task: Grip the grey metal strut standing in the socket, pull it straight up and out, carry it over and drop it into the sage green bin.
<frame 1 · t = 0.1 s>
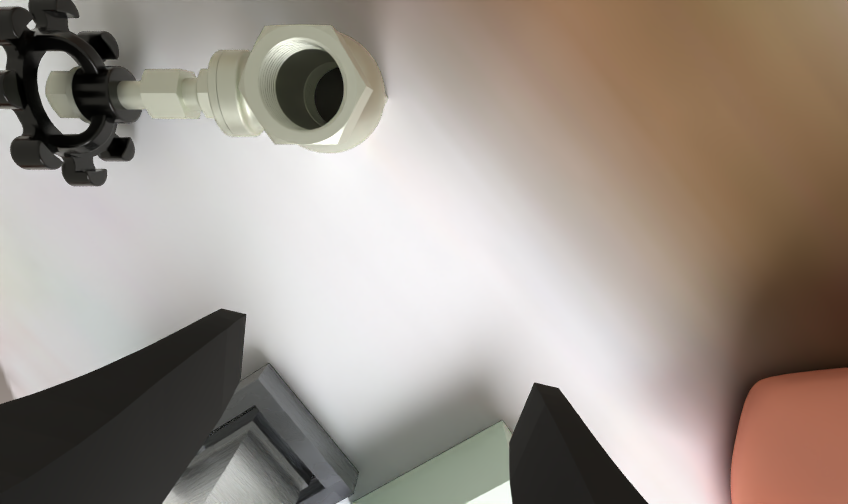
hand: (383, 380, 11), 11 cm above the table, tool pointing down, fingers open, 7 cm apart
socket: (258, 453, 25), on the table
valve: (255, 99, 20), on the table
teapot: (833, 449, 24), on the table
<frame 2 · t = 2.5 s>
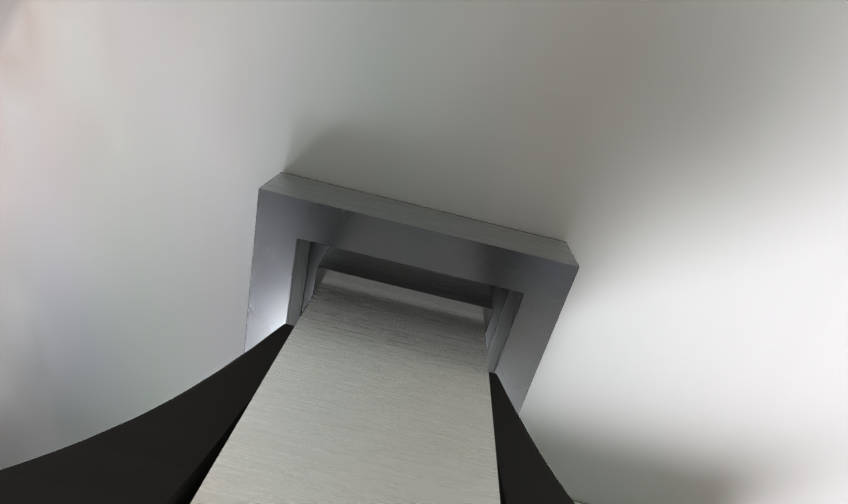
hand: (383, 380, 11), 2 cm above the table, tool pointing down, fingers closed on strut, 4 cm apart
socket: (395, 327, 14), on the table
strut: (372, 428, 10), in the socket, touching gripper
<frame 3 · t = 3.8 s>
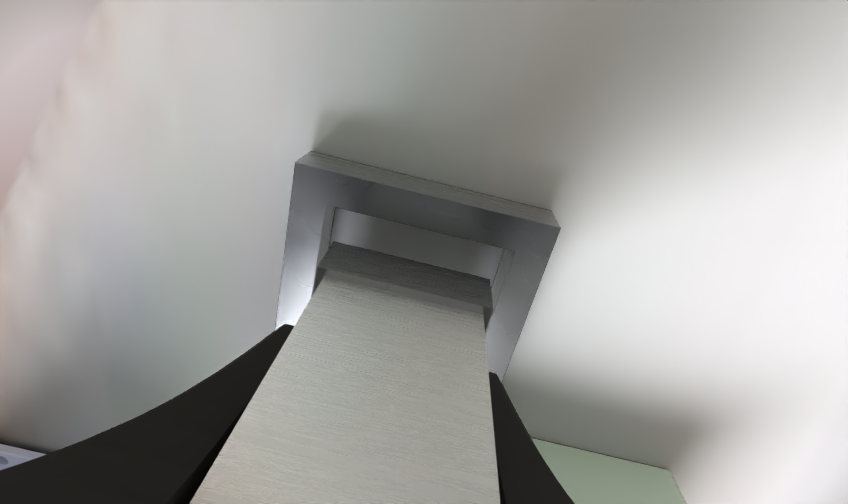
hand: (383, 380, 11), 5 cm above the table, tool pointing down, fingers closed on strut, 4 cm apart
socket: (405, 286, 16), on the table
strut: (372, 427, 10), point 6 cm above the table, touching gripper
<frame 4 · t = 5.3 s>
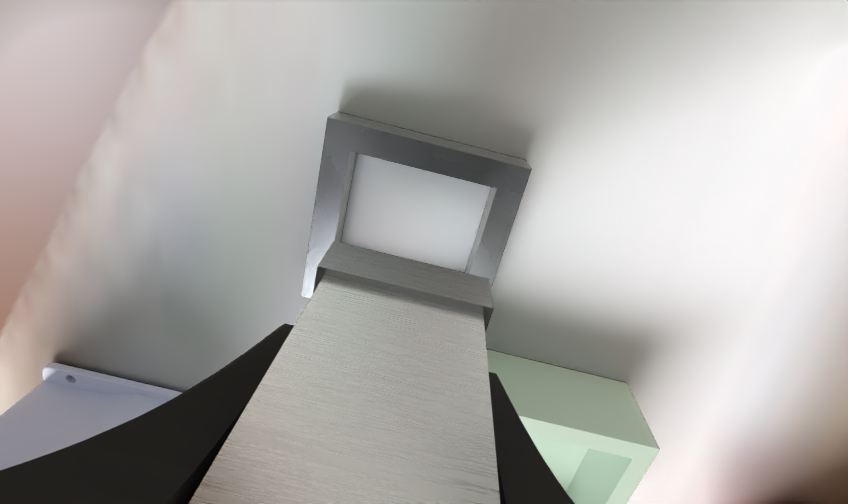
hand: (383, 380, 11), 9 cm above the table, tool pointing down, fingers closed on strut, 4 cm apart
socket: (411, 224, 20), on the table
strut: (372, 427, 10), point 11 cm above the table, touching gripper
bin: (500, 433, 24), on the table
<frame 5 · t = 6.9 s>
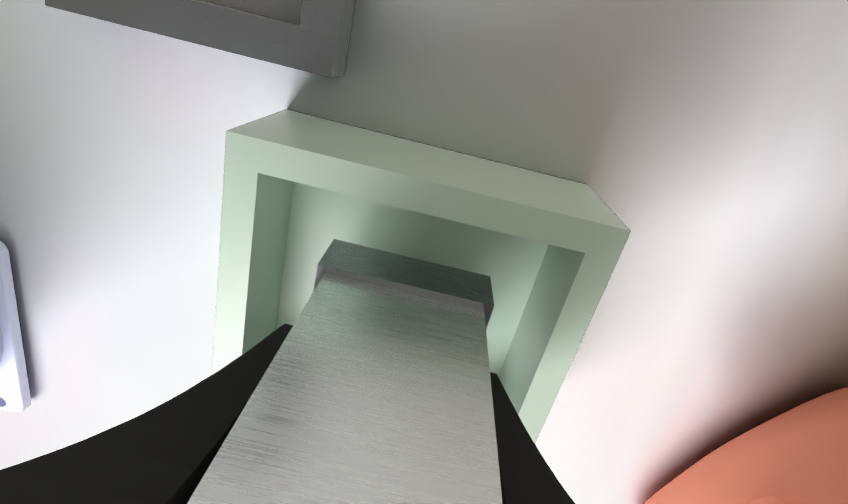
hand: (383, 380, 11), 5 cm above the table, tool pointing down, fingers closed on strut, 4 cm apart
strut: (373, 424, 10), point 7 cm above the table, touching gripper
teapot: (792, 500, 20), on the table
bin: (405, 281, 16), on the table
when the fingers open (5 cm above the table, at t = 8.1 s): strut drops 1 cm, resting on bin.
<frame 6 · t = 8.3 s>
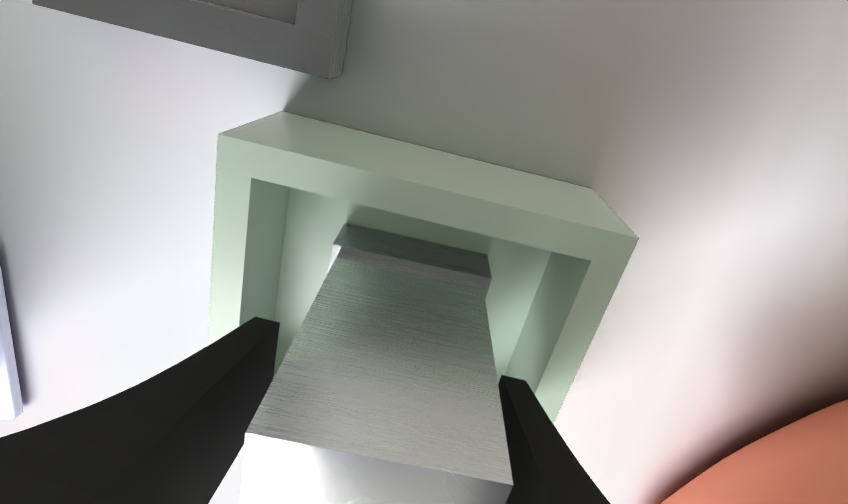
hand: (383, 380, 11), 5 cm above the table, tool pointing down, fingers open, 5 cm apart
strut: (387, 383, 11), in the bin, point 5 cm above the table
bin: (404, 287, 16), on the table
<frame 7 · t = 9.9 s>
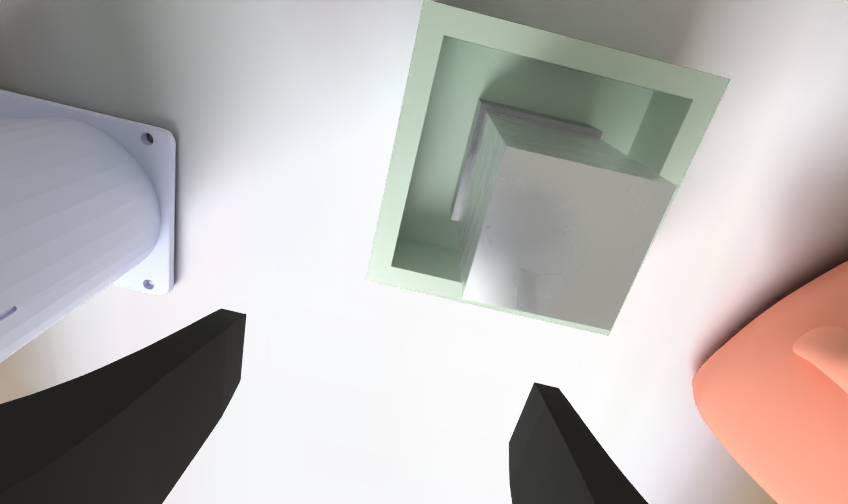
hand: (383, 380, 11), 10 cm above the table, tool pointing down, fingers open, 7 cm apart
strut: (534, 196, 15), in the bin, point 5 cm above the table
teapot: (824, 364, 23), on the table
bin: (513, 163, 20), on the table
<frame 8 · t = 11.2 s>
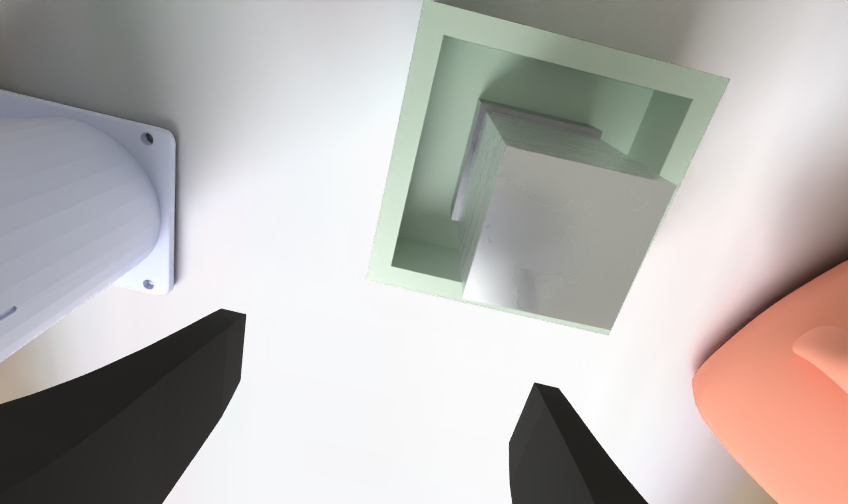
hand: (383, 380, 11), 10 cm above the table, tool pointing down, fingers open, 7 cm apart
strut: (534, 196, 15), in the bin, point 5 cm above the table
teapot: (824, 363, 23), on the table
bin: (513, 163, 20), on the table
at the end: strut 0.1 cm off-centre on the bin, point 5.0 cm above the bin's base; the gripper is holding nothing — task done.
